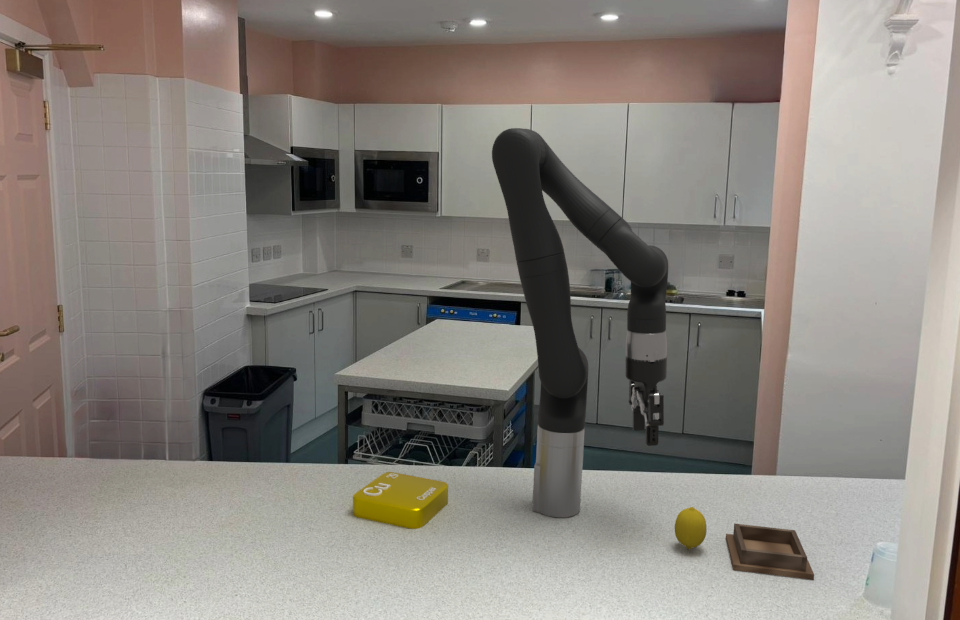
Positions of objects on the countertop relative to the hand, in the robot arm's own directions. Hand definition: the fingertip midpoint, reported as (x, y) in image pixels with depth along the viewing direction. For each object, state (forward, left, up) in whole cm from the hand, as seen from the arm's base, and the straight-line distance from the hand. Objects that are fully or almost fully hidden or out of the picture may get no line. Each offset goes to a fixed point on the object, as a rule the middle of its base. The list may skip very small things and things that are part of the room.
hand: (645, 437), depth 146 cm
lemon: (+9, -9, -18) cm, 21 cm away
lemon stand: (+22, -9, -17) cm, 29 cm away
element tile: (-46, -6, -18) cm, 50 cm away
